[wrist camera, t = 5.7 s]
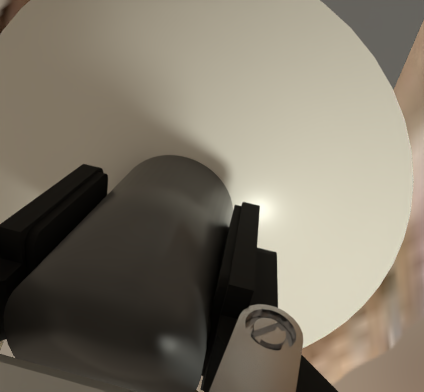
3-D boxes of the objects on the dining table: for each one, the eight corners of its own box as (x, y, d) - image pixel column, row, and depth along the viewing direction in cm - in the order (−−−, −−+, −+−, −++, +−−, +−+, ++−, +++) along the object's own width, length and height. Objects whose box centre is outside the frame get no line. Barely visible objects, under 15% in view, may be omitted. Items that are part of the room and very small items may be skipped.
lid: (-28, -90, 10) (-503, -273, 4) (493, 16, 10) (930, -5, 3) (7, 297, 17) (-153, 460, 11) (318, 378, 16) (347, 607, 10)
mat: (220, -116, 23) (218, -120, 22) (455, -66, 22) (461, -69, 21) (182, 112, 30) (180, 115, 29) (360, 156, 29) (362, 160, 28)
